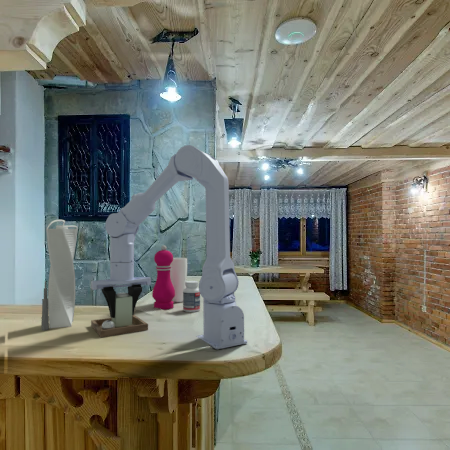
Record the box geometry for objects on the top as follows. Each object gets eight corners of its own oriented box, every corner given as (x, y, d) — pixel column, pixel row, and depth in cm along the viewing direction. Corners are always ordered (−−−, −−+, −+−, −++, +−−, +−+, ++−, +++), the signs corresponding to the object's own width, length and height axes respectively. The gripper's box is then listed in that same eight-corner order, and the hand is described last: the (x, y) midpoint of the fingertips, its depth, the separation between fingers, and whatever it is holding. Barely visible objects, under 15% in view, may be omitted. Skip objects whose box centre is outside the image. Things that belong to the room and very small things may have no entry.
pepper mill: (164, 311, 106) (164, 245, 107) (147, 308, 110) (147, 245, 110) (179, 306, 112) (179, 245, 113) (162, 304, 116) (162, 244, 116)
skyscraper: (43, 326, 91) (44, 219, 92) (77, 322, 94) (77, 219, 95) (40, 334, 83) (41, 218, 84) (77, 330, 87) (77, 218, 87)
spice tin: (132, 324, 87) (132, 294, 87) (115, 327, 84) (116, 296, 85) (127, 321, 90) (127, 292, 90) (111, 323, 88) (111, 293, 88)
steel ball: (116, 333, 81) (116, 320, 81) (103, 335, 79) (103, 322, 80) (113, 330, 84) (113, 318, 84) (100, 332, 82) (100, 319, 82)
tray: (148, 332, 84) (148, 324, 84) (100, 339, 78) (101, 331, 78) (134, 322, 93) (134, 314, 93) (91, 328, 88) (91, 320, 88)
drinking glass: (191, 300, 122) (191, 258, 123) (178, 304, 117) (178, 259, 117) (176, 298, 126) (176, 257, 126) (163, 301, 120) (163, 258, 121)
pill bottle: (197, 312, 104) (197, 283, 105) (180, 311, 105) (180, 282, 106) (202, 308, 110) (202, 280, 110) (186, 308, 111) (186, 280, 111)
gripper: (144, 259, 95) (144, 309, 94) (88, 262, 87) (88, 316, 87) (153, 261, 89) (153, 314, 88) (94, 264, 81) (94, 322, 81)
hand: (122, 315), depth 87 cm, fingers closed on spice tin, 4 cm apart
